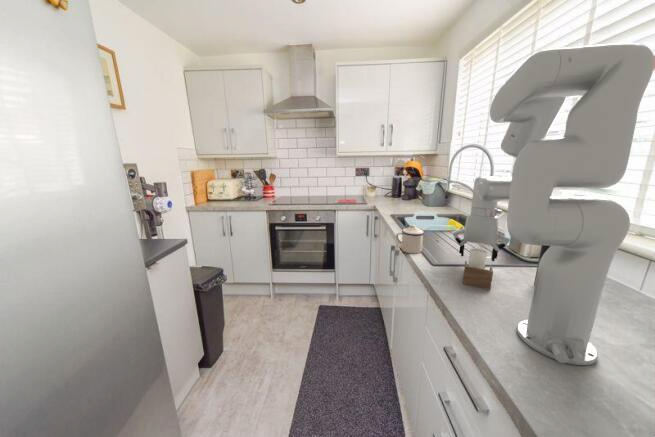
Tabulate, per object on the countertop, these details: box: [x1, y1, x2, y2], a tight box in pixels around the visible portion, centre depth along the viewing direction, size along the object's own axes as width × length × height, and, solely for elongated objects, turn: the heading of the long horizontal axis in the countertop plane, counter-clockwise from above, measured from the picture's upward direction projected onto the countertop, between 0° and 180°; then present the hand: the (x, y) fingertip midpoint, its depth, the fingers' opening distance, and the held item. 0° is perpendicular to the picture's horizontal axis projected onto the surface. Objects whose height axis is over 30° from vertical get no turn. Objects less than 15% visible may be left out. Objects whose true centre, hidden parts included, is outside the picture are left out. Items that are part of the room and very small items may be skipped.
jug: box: [467, 247, 488, 269], centre depth 86 cm, size 8×5×8 cm, turn 150°
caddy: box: [462, 260, 494, 291], centre depth 77 cm, size 5×7×6 cm
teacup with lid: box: [395, 224, 425, 255], centre depth 107 cm, size 12×9×12 cm
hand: (477, 257), depth 89 cm, fingers open, 9 cm apart
